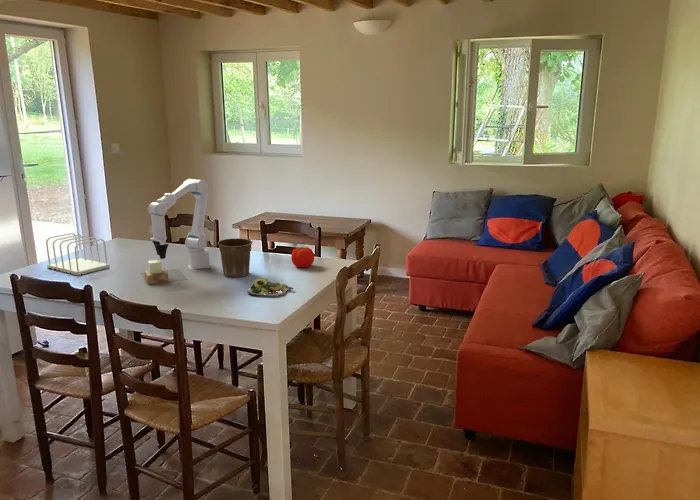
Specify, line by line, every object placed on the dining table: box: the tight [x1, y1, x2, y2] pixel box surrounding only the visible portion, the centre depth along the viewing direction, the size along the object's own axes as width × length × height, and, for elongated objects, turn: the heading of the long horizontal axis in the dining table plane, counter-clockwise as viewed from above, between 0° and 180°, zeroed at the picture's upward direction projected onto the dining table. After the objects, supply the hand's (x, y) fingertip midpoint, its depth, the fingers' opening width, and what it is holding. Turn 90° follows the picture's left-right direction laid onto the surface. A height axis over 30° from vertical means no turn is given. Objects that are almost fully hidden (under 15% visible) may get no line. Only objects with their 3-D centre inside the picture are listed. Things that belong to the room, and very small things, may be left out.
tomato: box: [290, 245, 315, 268], centre depth 280 cm, size 12×12×10 cm
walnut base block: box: [143, 267, 170, 285], centre depth 255 cm, size 9×9×4 cm
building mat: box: [140, 268, 188, 285], centre depth 262 cm, size 18×20×1 cm
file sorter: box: [45, 232, 110, 276], centre depth 274 cm, size 25×17×16 cm
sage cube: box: [147, 259, 163, 274], centre depth 254 cm, size 5×5×5 cm
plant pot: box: [217, 237, 253, 279], centre depth 265 cm, size 16×16×16 cm
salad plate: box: [246, 277, 295, 297], centre depth 243 cm, size 19×18×5 cm
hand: (161, 256), depth 259 cm, fingers open, 7 cm apart
